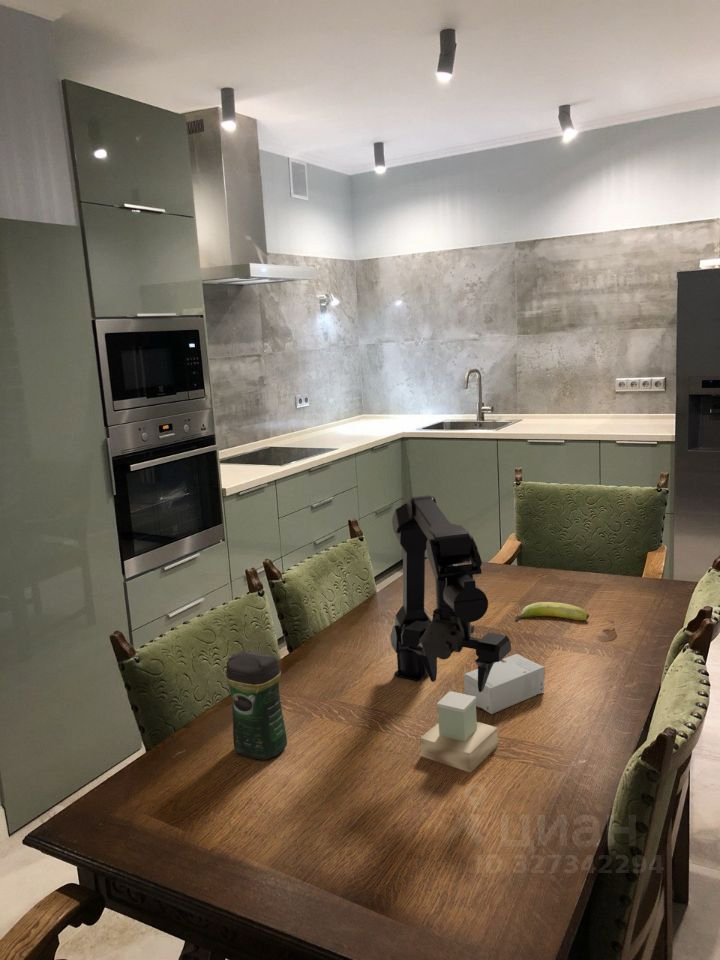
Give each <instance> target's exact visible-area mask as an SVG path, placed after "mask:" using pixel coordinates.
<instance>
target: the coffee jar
mask: <svg viewBox="0 0 720 960" xmlns="http://www.w3.org/2000/svg"><path fill="white" fill-rule="evenodd" d="M225 669H226V672H225V673H226V674H225V675H226V677H225V678H226V682H227V685H228V688H229V691H230V696H231V707H232V708H231V710H232V733H233V734H232V736H233V737H232V739H233V748H234V751H235V752H236V753H237V754H239V755H242V756H245V757H249V758H253V759H257V760H268V759H270V758H274V757H276V756H278V755H279V754H281V753H282V752H283V751H284V750H285V748H286V747H287V745H288V739H287V737H288V735H287V731H286V726H285V720H284V715H283V708H282V702H281V697H280V680H281V675H282V674H281V673H282V672H281V668H280V665H279V660H278V658H277V657H276V656H273V655H269V654H263V653H258V652H250V651H245V650H240V651H238V652H236V654H233V655H232V656H230V657H228V659H227V662H226V667H225Z"/></svg>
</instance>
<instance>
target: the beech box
mask: <svg viewBox="0 0 720 960" xmlns="http://www.w3.org/2000/svg"><path fill="white" fill-rule="evenodd" d="M498 738H499V735H498V727H496V726H493V725H490V724H487V723H483V722H479V721H477V729H476V731H475V732H474V733H473V734H472V735H471V736H470V737H469V738H468V739H467V740H466V741H465V742H463V741H459V740H455V739H451V738H447V737H443V736H439V722H437V723H436V724H435V725H434V726H433V727H431V728H430V729H429V730H428V731H427V732H426V733H424V734H423V735H421V736H420V755H421V756H420V757H422V758H426V759H429V760H432V761H435V762H438V763H441V764H444V765H446V766H449V767H452V768H456V769H459V770H461V771H465V772H468V773H472V772H473V771H474V770H475V769H476V768H477V767H478V766H479V765H480V764H481V763H482V762H484V760H485V759H486V758H487V757H488V756H490V754H492V752H493V751H495V749H496V748H498V747H499V740H498Z"/></svg>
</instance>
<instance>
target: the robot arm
mask: <svg viewBox="0 0 720 960" xmlns="http://www.w3.org/2000/svg"><path fill="white" fill-rule="evenodd" d="M391 519H392V520H391V522H392V529H393V532H394V534H395V536H396V539H397V541H398V543H399V544H400V546H401V547H402V606H401V607H400V609H399V610H398V611H397V612H396V614H395V619H394V621H395V622H394V625H393V627H392V629H391V632H390V635H389V636H390V645H391V646H392V648H393V651H394V652H395V653H396V662H397V670H396V671H395V672H394V674H393V675H394V676H395V677H399V678H404V679H408V680H413V681H417V682H419V681H421V680H422V679H424V678H425V677H426V676H427V675H428V677H429V679H430V681H431V682H432V683H434V682H436V681H437V676H438V675H437V673H438V659H439V660H447V659H449V658H450V657H451V656H452V654H453V653H461V651H462V650H463V648H466V649H473V650H475V655H476V656H477V658H476V659H475V661H474V663H476V666H477V669H478V690H479V692H482V691H483V689H484V686H485V684H486V681H487V678H488V676H489V673H490V671H491V668H492V666H493V664H494V663H495V662H499V661H501V660H502V659H504V658H506V656H507V655H508V654H509V653H510V652H511V651H512V642H511V641H512V640H511V639H510V638H509V637H508V635H505V634H499V633H493V632H488V633H486V634H485V635H484V636H483V637H481V638H480V637H474V636H472V634H473V633H474V632H475V626H474V625H472V624H471V623H474V622H477V621H479V620H480V619H481V618H483V617H484V616H485V615H486V613H487V612H488V608H489V600H488V597H487V595H486V594H485V592H484V591H483V590H482V589H481V588H480V587H479V586H477V585H476V580H475V579H474V575H480V574H481V575H482V569H481V567H482V564H483V561H482V558H481V556H480V551H479V549H478V545H477V543H476V541H475V540H474V536H472V535H471V534H470V532H469V531H468V530H467V529H466V528H465V527H463V526H462V525H459V524H455V523H451V521H450V520H449V519H448V518H447V517H446V515H445V514H444V512H443V511H442V510H441V509H440V507H439V506H438V504H437V501H436V498H435V496H434V495H429V494H427V495H419V496H411V497H410V498H408V499H407V501H406V503H404V504H402V505H400V506H399V507H398V508H396V509H395V511H394V512H393V515H392V518H391ZM426 555H427V558H428V561H429V564H430V568H431V571H432V573H433V576H434V578H435V579H434V580H435V598H436V599H435V601H436V608H435V609H433V610H432V612H433V613H432V620H431V617H430V616H429V614H428V611H427V610H426V609H425V597H426V596H425V590H426V589H425V586H426V585H425V584H426V582H425V581H426V580H425V579H426V578H425V577H426V563H425V562H426ZM470 562H471V563H470ZM467 563H468V564H467ZM458 564H459V565H458Z"/></svg>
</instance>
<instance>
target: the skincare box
mask: <svg viewBox="0 0 720 960" xmlns="http://www.w3.org/2000/svg"><path fill="white" fill-rule="evenodd" d="M545 669H546V668H545V666H543V665H541V664H539V663H536V662H534V661H532V660H530V659H528V658H526V657H525V656H522V655H520V654H519V653H515V654H512V655H509V656H507V657H504V658H503V659H502V660H501V661H499V662H495V663H494V664H493V666H492V668H491V671H490V673H489V676H488V678H487V681H486V684H485V686H484V689H483V691H482V692H479V690H478V668H477V669H473V670H471V671H468V672H466V673H464V674H463V680H464V682H463V683H464V694H466V695H471V696H475V697H476V708H479V709H480V708H481V709H483V710H484V711H485V712H487V713H489V714H491V715H493V714H495V713H497V712H501V711H503V710H504V709H507V708H509V707H511V706H514V705H517V704H519V703H521V702H524V701H527V700H528V699H530V698H533V697H535V696H537V694H538V695H541V694H542V692H543V693H545V674H546V673H545V671H546V670H545Z"/></svg>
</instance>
